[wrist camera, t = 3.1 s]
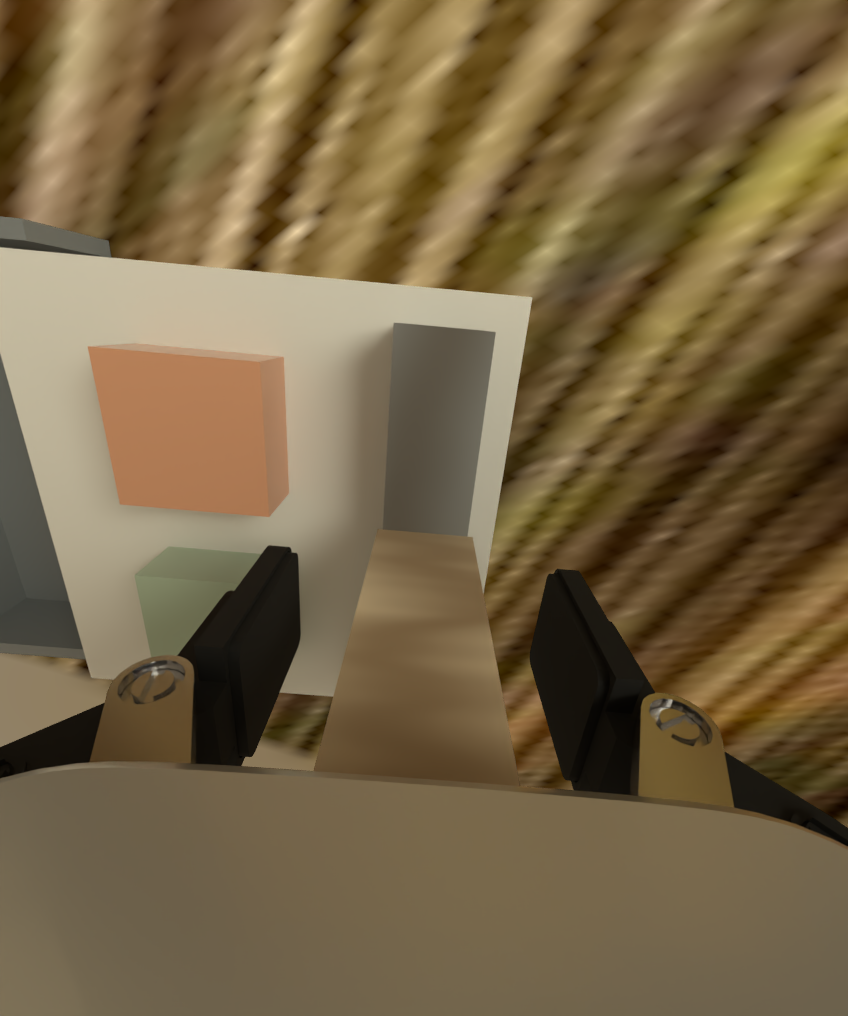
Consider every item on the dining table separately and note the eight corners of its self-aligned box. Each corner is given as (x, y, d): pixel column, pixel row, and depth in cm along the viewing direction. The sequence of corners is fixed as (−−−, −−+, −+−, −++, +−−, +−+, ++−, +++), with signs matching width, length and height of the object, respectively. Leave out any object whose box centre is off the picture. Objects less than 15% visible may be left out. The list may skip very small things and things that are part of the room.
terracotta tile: (283, 356, 13) (259, 361, 11) (289, 493, 15) (269, 517, 13) (135, 343, 13) (87, 346, 11) (158, 482, 15) (119, 504, 13)
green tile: (291, 556, 16) (273, 586, 14) (295, 652, 18) (279, 690, 16) (168, 546, 16) (134, 575, 14) (184, 643, 18) (155, 681, 16)
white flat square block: (501, 305, 18) (532, 297, 13) (457, 619, 24) (464, 706, 19) (113, 268, 18) (-30, 244, 12) (169, 596, 24) (91, 678, 18)
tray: (108, 240, 17) (-9, 210, 13) (172, 611, 24) (111, 678, 20) (-96, 221, 17) (-287, 184, 13) (28, 600, 24) (-67, 664, 20)
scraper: (489, 331, 13) (659, 352, 3) (441, 687, 18) (452, 1090, 9) (395, 322, 13) (285, 317, 3) (375, 682, 18) (313, 1081, 9)
